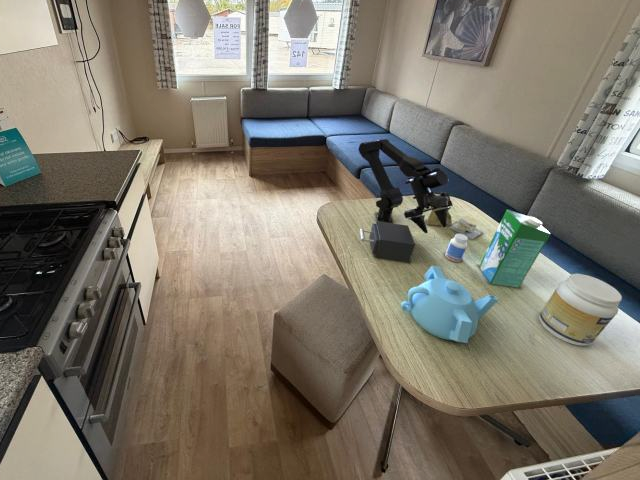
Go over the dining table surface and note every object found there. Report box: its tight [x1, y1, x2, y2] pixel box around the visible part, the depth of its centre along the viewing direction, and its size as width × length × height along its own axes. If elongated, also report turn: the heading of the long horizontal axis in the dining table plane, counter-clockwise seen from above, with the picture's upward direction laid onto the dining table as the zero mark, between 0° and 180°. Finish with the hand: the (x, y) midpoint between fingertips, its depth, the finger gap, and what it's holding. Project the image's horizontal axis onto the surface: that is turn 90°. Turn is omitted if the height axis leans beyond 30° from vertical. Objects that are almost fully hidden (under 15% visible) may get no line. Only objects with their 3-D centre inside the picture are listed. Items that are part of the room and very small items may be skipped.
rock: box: [425, 209, 453, 226], centre depth 137 cm, size 11×9×10 cm
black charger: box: [374, 220, 416, 264], centre depth 119 cm, size 12×13×9 cm
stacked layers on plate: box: [448, 214, 483, 240], centre depth 134 cm, size 10×9×6 cm
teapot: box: [400, 265, 499, 344], centre depth 90 cm, size 19×19×14 cm
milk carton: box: [479, 209, 551, 288], centre depth 104 cm, size 9×9×25 cm
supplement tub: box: [538, 273, 623, 347], centre depth 87 cm, size 12×12×17 cm
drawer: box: [359, 223, 379, 256], centre depth 120 cm, size 16×11×7 cm
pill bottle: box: [445, 233, 469, 262], centre depth 116 cm, size 6×5×10 cm
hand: (435, 230), depth 119 cm, fingers open, 9 cm apart
